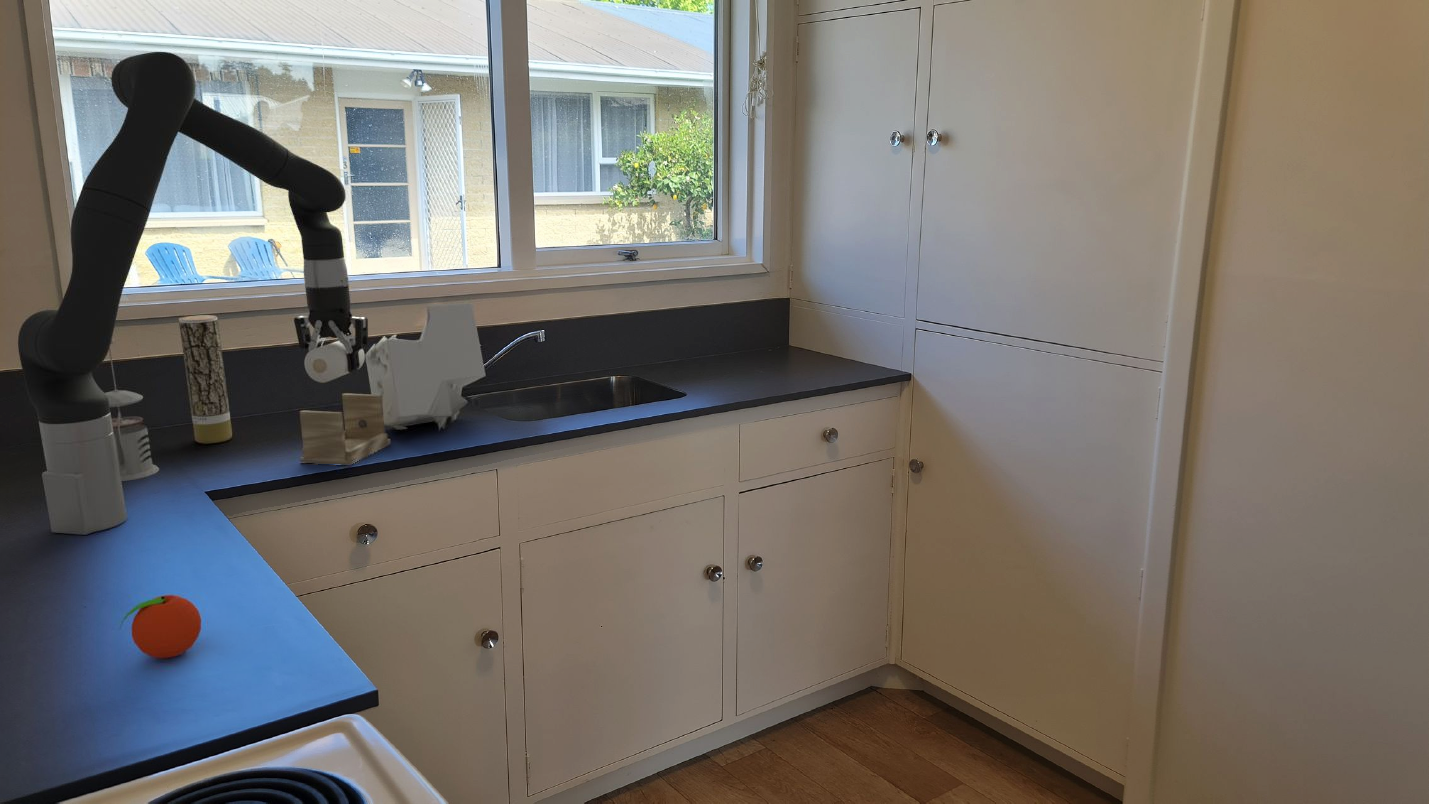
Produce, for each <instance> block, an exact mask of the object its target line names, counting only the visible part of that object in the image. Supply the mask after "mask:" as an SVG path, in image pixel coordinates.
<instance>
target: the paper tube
mask: <svg viewBox="0 0 1429 804" xmlns="http://www.w3.org/2000/svg"><path fill="white" fill-rule="evenodd" d="M178 324H179V326H178V327H179V331H180V333H179V334H180V338H181V347H182V352H183V353H182V354H183V361H184V367H185V375H186V383H187V389H188V390H187V391H188V397H189V405H190V413H191V421H192V426H193V434H194V440H195V441H196V442H197V443H199V444H207V445H208V444H217V443H218V444H219V443H223V442H226V441H229V440H230V439H231V438H232V436H233V429H232V423H231V421H232V420H231V414H230V413H231V412H230V406H229V398H228V397H229V396H228V389H227V383H226V375H225V374H226V373H225V365H224V360H223V359H224V358H223V350H222V349H223V348H222V342H221V335H220V334H221V333H220V329H219V327H220V326H219V319H218V316H217V315H213V314H211V315H210V314H207V315H206V314H205V315H191V316H190V315H189V316H182V317H180V318H178Z"/></svg>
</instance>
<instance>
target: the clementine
mask: <svg viewBox="0 0 1429 804" xmlns="http://www.w3.org/2000/svg"><path fill="white" fill-rule="evenodd" d="M137 610H138V611H137ZM136 611H137V612H136ZM134 612H136V613H135V615H134V617H133V620H132V622H131V637H132V641H133V643H134V644H135V645H136V646H137V648H138V649H139V650H140V652H142V653H143V654H145V655H147V656H149V657H153V658H157V659H169V658H174V657H177V656H179V655H181V654H184V653H185V652H186V651H188V650H189V649H190V648H191V647H192V646H193V645H194V644H195V643H196V641H197V640H198V638H199V636H200V633H201V629H202V618H201V614H200V610H199V609H198V608H197V607H196V606H195V604H194V603H193V602H191V601H190V600H189V599H187V598H185V597H182V596H179V595H173V594H166V595H161V596H157V597H153V598H152V599H148V600H146V601H143V602H141V603H139V604H137V605H136V606H134V607H133V608H132V609H131V610H130V611H128V612H127V613H126V615H125V616H124V618H123V619H122V620H121V624H120V627H119V629H118V630H121V627H122V625H123V623H124V621H125V620H126V619H127V618H128V616H130V615H131V614H133V613H134Z"/></svg>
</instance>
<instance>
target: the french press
mask: <svg viewBox="0 0 1429 804" xmlns="http://www.w3.org/2000/svg"><path fill="white" fill-rule="evenodd" d="M115 343H116V342H115V339H114V338H113V337H112V340H111V344H110V345H113V344H115ZM108 353H109V359H110V365H111V370H112V371H111V372H112V378H113V385H114V390H112V391H108V392H104V393H105V394H106V396H107V397H108V400H109V406H110V408H115V407H117V409H118V411H117V412H118V414H117V417H111V419H112V425H113V432H114V439H115V445H116V451H117V458H118V464H119V470H120V477H121V482H128V481H132V480H139V479H143V478H147V477H150V476H152V475H155V474H157V472H159V471H160V468H159V467H158V466H157V465H156V464H153V459H152V457H151V456H152V452H151V450H150V449H151V446H150V444H149V442H150V438H149V437H148V436H149V431H148V427H147V425H145V424H142V423H143V422H144V418H143V417H141V416H136V415H135V416H122V413H121V409H120V407H124V406H128V405H132V404H135V403H139V402H140V401H142V400H143V399H144V396H143V395H141V394H139V393H137V392H133V391H129V390H125V389H124V390H119V389H117V384H116V377H115V370H114V365H113V357H112V351H111V347H110V348H109V351H108ZM142 437H144V439H142ZM144 444H146V445H144ZM145 451H146V452H145Z"/></svg>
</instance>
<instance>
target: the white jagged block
mask: <svg viewBox="0 0 1429 804" xmlns="http://www.w3.org/2000/svg"><path fill="white" fill-rule="evenodd" d="M473 306H474V305H473V302H471V301H469V302H462V303H461V302H458V303H446V304H433V305H427V306H426V310H427V312H426V313H427V314H426V316H427V317H426V320H425V322H424V325H423V329H422V331H421V335H420V337H419V339H416V340H411V339H402V338H400V339H399V338H396V337H397V335H398V334H393V335H392V336H391V337H389V338H388V337H386V336H385V335H384V336H383V337H382V338H381V339H380V340H379V341H378V342H377V343H376V344H373V345H372V346H371V347H370V348H369V349H368V351H367V352H366V354H365V353H364V355H365V363H366V368H367V374H368V381H369V387H370V393H371V394H372V395H382V404H383V416H384V426H387V427H389V428H390V427H391V428H394V429H395V430H396V431H398V430H400V431H402V430H406V429H408V427H406V425H412V424H413V425H414V424H423V423H428V422H434V423H435V424H436V423H437V428H438V431H440V430H441V429H442V430H443V429H444V430H445V429H446V428H447V427H448V426H449V425H451V423H453V422H454V421H455V420H456V419H457V416H458V415H459V414H460V410H461V409H462V408H464V407H465V406H467V404H468V403H469V401H468V400H467V399H465V397H463V396H462V392H463V391H462V390H463V388H464V387H466V386H467V385H469V384H472V383H474V382H476V381H478V380H480V379H482V378H484V377H487V376H486V375H487V374H486V370H485V365H484V360H483V354H482V349H481V344H480V343H481V342H480V337H479V333H478V328H477V327H478V326H477V323H476V318H475V312H474V308H473Z"/></svg>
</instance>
